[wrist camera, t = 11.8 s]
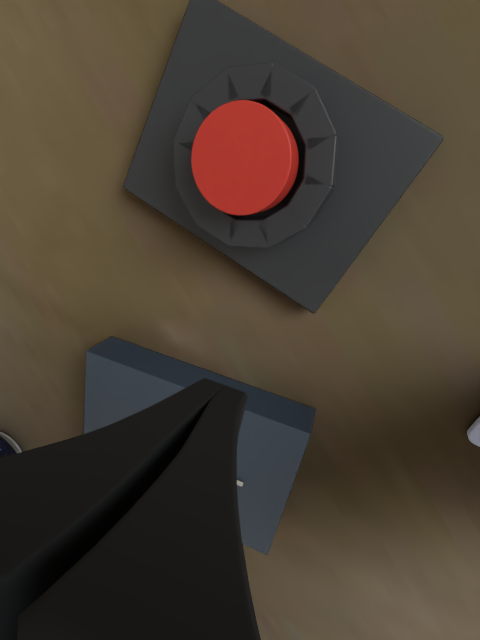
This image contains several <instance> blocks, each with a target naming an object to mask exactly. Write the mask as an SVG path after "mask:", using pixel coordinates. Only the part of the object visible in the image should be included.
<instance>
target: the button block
mask: <svg viewBox="0 0 480 640" xmlns="http://www.w3.org/2000/svg"><path fill="white" fill-rule="evenodd" d="M237 100H249V101H254V102H257V103H260V104H262V105H264V106H266V107H268V108H269V109H270V110H272V111H273V112H274V113H275V114H276V115H277V116H278V117H279V118H280V119H281V120H282V121H283V122H284V123H285V124H286V125H287V126H288V127H289V129H290V130H291V132H292V134H293V136H294V138H295V141H296V144H297V148H298V154H299V165H298V172H297V176H296V179H295V182H294V184H293V186H292V188H291V190H290V191H289V193H288V194H287V195H286V197H285V198H284V199H283V200H282V201H281V202H280V203H278V204H277V205H276V206H274V207H273V208H271V209H269V210H266V211H263V212H259V213H255V214H250V215H241V216H239V215H231V214H227V213H225V212H222V211H220V210H218V209H216V208H215V207H214V206H212V205H211V204H210V203H209V202H208V201H207V200H206V199H205V198H204V196H203V195H202V194H201V192H200V190H199V189H198V187H197V184H196V182H195V179H194V176H193V172H192V164H191V153H192V146H193V142H194V139H195V136H196V133H197V131H198V129H199V127H200V126H201V124H202V123H203V121H204V120H205V119H206V117H207V116H208V115H209V114H210V113H211V112H213V111H214V110H215V109H216V108H218V107H219V106H221V105H223V104H225V103H228V102H231V101H237ZM443 139H444V137H443V136H442V135H440V134H438V133H437V132H435V131H433V130H432V129H430V128H428V127H427V126H425V125H423V124H422V123H420V122H418V121H417V120H415V119H413V118H412V117H410V116H408V115H407V114H405V113H403V112H402V111H400V110H398V109H397V108H395V107H393V106H392V105H390V104H388V103H387V102H385V101H383V100H382V99H380V98H378V97H377V96H375V95H373V94H372V93H370V92H368V91H367V90H365V89H363V88H362V87H360V86H358V85H357V84H355V83H353V82H352V81H350V80H348V79H347V78H345V77H343V76H342V75H340V74H338V73H337V72H335V71H333V70H332V69H330V68H329V67H327V66H325V65H324V64H322V63H320V62H319V61H317V60H315V59H314V58H312V57H310V56H309V55H307V54H305V53H304V52H302V51H300V50H299V49H297V48H295V47H294V46H292V45H290V44H289V43H287V42H285V41H284V40H282V39H280V38H279V37H277V36H275V35H274V34H272V33H270V32H269V31H267V30H265V29H264V28H262V27H260V26H259V25H257V24H255V23H254V22H252V21H250V20H249V19H247V18H245V17H244V16H242V15H240V14H239V13H237V12H235V11H234V10H232V9H230V8H229V7H227V6H225V5H224V4H222V3H220V2H219V1H217V0H190V1H189V4H188V7H187V10H186V13H185V15H184V18H183V21H182V24H181V26H180V29H179V32H178V35H177V38H176V40H175V43H174V46H173V49H172V52H171V54H170V57H169V60H168V63H167V65H166V68H165V71H164V74H163V77H162V79H161V82H160V85H159V88H158V90H157V93H156V96H155V99H154V102H153V104H152V107H151V110H150V113H149V116H148V118H147V121H146V124H145V127H144V129H143V132H142V135H141V138H140V141H139V143H138V146H137V149H136V152H135V155H134V157H133V160H132V163H131V166H130V168H129V171H128V174H127V177H126V180H125V182H124V185H123V187H124V188H125V189H126V190H128V191H129V192H131V193H132V194H134V195H135V196H137V197H138V198H140V199H141V200H143V201H144V202H146V203H147V204H149V205H150V206H152V207H153V208H155V209H156V210H158V211H159V212H161V213H162V214H164V215H165V216H167V217H168V218H170V219H171V220H173V221H174V222H176V223H177V224H179V225H180V226H182V227H183V228H185V229H187V230H188V231H190V232H191V233H193V234H194V235H196V236H197V237H199V238H200V239H202V240H203V241H205V242H206V243H208V244H209V245H211V246H212V247H214V248H215V249H217V250H218V251H220V252H221V253H223V254H224V255H226V256H227V257H229V258H230V259H232V260H233V261H235V262H236V263H238V264H239V265H241V266H242V267H244V268H245V269H247V270H248V271H250V272H251V273H253V274H254V275H256V276H257V277H259V278H260V279H262V280H263V281H265V282H266V283H268V284H269V285H271V286H273V287H274V288H276V289H277V290H279V291H280V292H282V293H283V294H285V295H286V296H288V297H289V298H291V299H292V300H294V301H295V302H297V303H298V304H300V305H301V306H303V307H304V308H306V309H307V310H309V311H310V312H312V313H316V311H317V310H318V308H319V307H320V306H321V304H322V303H323V302H324V300H325V299H326V298H327V296H328V295H329V294H330V292H331V291H332V290H333V288H334V287H335V285H336V284H337V283H338V281H339V280H340V279H341V277H342V276H343V275H344V273H345V272H346V271H347V269H348V268H349V267H350V265H351V264H352V263H353V261H354V260H355V258H356V257H357V256H358V254H359V253H360V252H361V250H362V249H363V248H364V246H365V245H366V244H367V242H368V241H369V240H370V238H371V237H372V235H373V234H374V233H375V231H376V230H377V229H378V227H379V226H380V225H381V223H382V222H383V221H384V219H385V218H386V217H387V215H388V214H389V212H390V211H391V210H392V208H393V207H394V206H395V204H396V203H397V202H398V200H399V199H400V198H401V196H402V195H403V194H404V192H405V191H406V189H407V188H408V187H409V185H410V184H411V183H412V181H413V180H414V179H415V177H416V176H417V175H418V173H419V172H420V171H421V169H422V168H423V167H424V165H425V164H426V162H427V161H428V160H429V158H430V157H431V156H432V154H433V153H434V152H435V150H436V149H437V148H438V146H439V145H440V144H441V142H442V141H443Z"/></svg>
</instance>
